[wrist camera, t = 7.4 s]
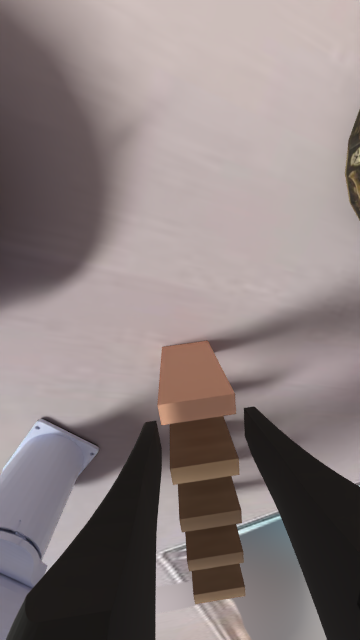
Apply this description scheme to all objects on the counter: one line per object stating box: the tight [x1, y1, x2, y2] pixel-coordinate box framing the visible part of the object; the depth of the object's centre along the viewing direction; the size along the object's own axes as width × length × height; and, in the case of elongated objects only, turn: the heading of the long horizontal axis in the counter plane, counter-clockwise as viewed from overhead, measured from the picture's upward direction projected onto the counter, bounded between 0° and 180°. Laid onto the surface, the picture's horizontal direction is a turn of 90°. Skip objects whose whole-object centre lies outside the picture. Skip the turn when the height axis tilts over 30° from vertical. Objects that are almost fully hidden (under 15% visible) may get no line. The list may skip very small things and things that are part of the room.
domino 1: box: [170, 416, 239, 485], centre depth 18 cm, size 2×5×9 cm, turn 97°
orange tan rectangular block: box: [158, 341, 236, 425], centre depth 17 cm, size 2×5×9 cm, turn 98°
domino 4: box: [192, 563, 245, 604], centre depth 23 cm, size 2×5×9 cm, turn 97°
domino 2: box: [178, 476, 242, 532], centre depth 20 cm, size 2×5×9 cm, turn 97°
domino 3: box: [185, 524, 244, 571], centre depth 21 cm, size 2×5×9 cm, turn 97°
